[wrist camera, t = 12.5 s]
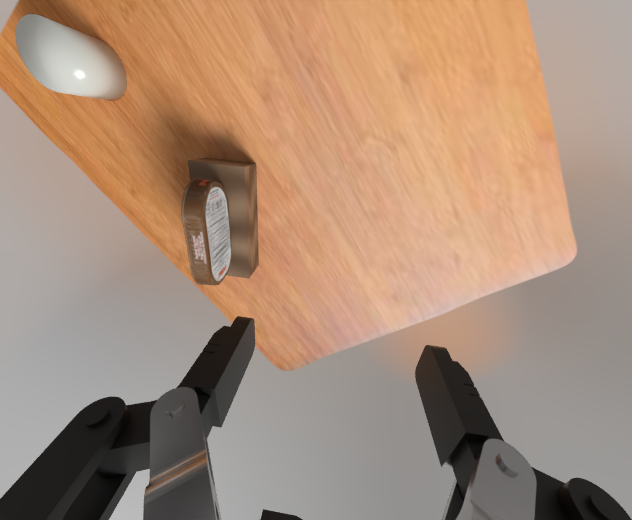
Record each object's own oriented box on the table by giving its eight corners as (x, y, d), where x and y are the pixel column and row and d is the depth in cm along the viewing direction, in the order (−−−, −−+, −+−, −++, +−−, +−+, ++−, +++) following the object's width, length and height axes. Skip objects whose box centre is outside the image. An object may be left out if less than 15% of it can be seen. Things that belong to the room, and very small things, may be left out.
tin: (209, 173, 33) (170, 183, 26) (231, 176, 33) (198, 187, 26) (219, 266, 40) (190, 295, 33) (237, 269, 40) (212, 298, 33)
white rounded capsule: (69, 37, 32) (3, 13, 26) (117, 39, 31) (62, 14, 25) (89, 99, 35) (34, 91, 29) (133, 101, 35) (87, 93, 29)
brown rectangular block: (206, 158, 37) (187, 160, 33) (256, 163, 37) (243, 166, 32) (218, 259, 45) (204, 272, 41) (258, 264, 45) (249, 278, 41)
